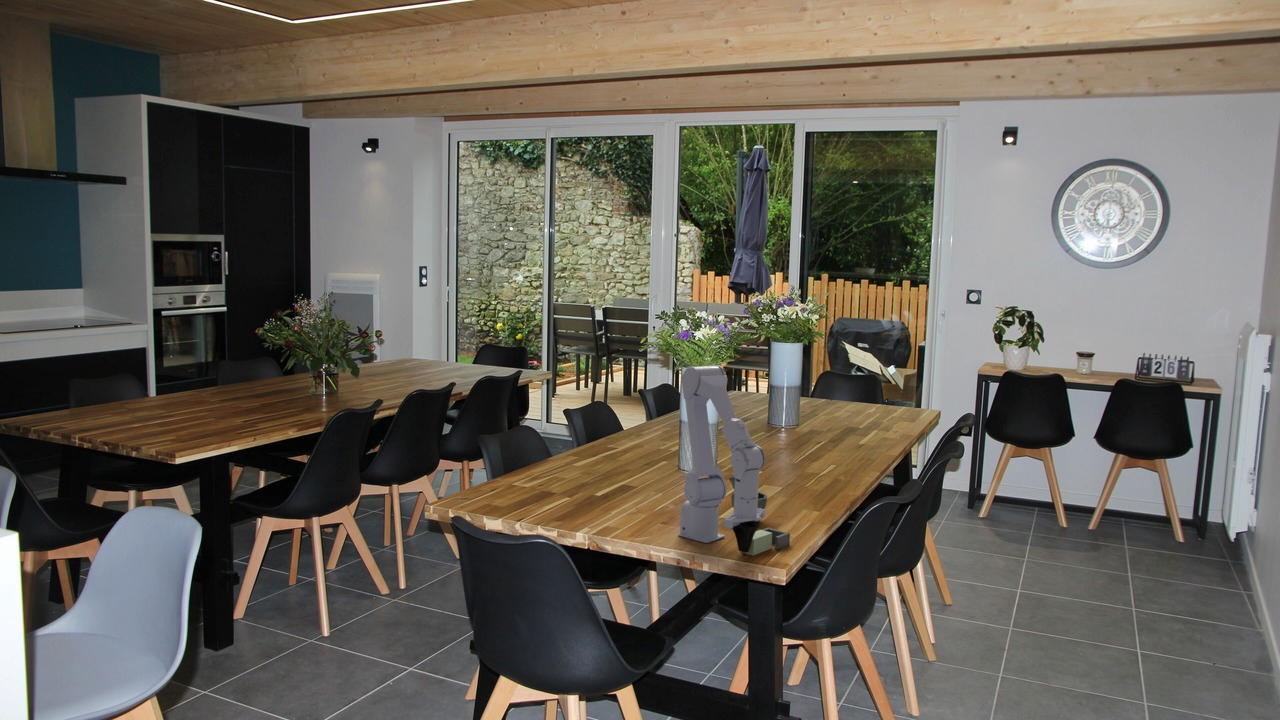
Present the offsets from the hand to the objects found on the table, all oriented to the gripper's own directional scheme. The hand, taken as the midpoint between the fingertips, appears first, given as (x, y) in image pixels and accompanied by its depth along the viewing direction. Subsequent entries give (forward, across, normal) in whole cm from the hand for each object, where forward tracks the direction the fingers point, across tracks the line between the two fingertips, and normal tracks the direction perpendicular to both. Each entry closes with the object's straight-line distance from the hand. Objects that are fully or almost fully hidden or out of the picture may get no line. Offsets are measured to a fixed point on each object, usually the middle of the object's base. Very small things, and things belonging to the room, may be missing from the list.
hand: (743, 551), depth 227 cm
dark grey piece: (+1, +12, 0) cm, 13 cm away
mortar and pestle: (+1, +26, +18) cm, 32 cm away
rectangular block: (+1, +6, 0) cm, 6 cm away
